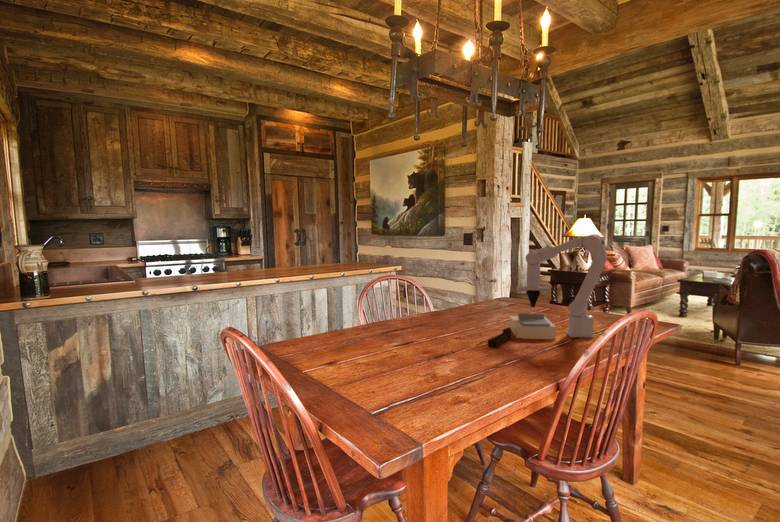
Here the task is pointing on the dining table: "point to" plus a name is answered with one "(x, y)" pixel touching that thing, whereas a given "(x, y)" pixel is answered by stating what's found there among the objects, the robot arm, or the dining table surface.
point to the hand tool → (500, 338)
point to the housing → (532, 330)
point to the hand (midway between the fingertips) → (532, 306)
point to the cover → (532, 319)
